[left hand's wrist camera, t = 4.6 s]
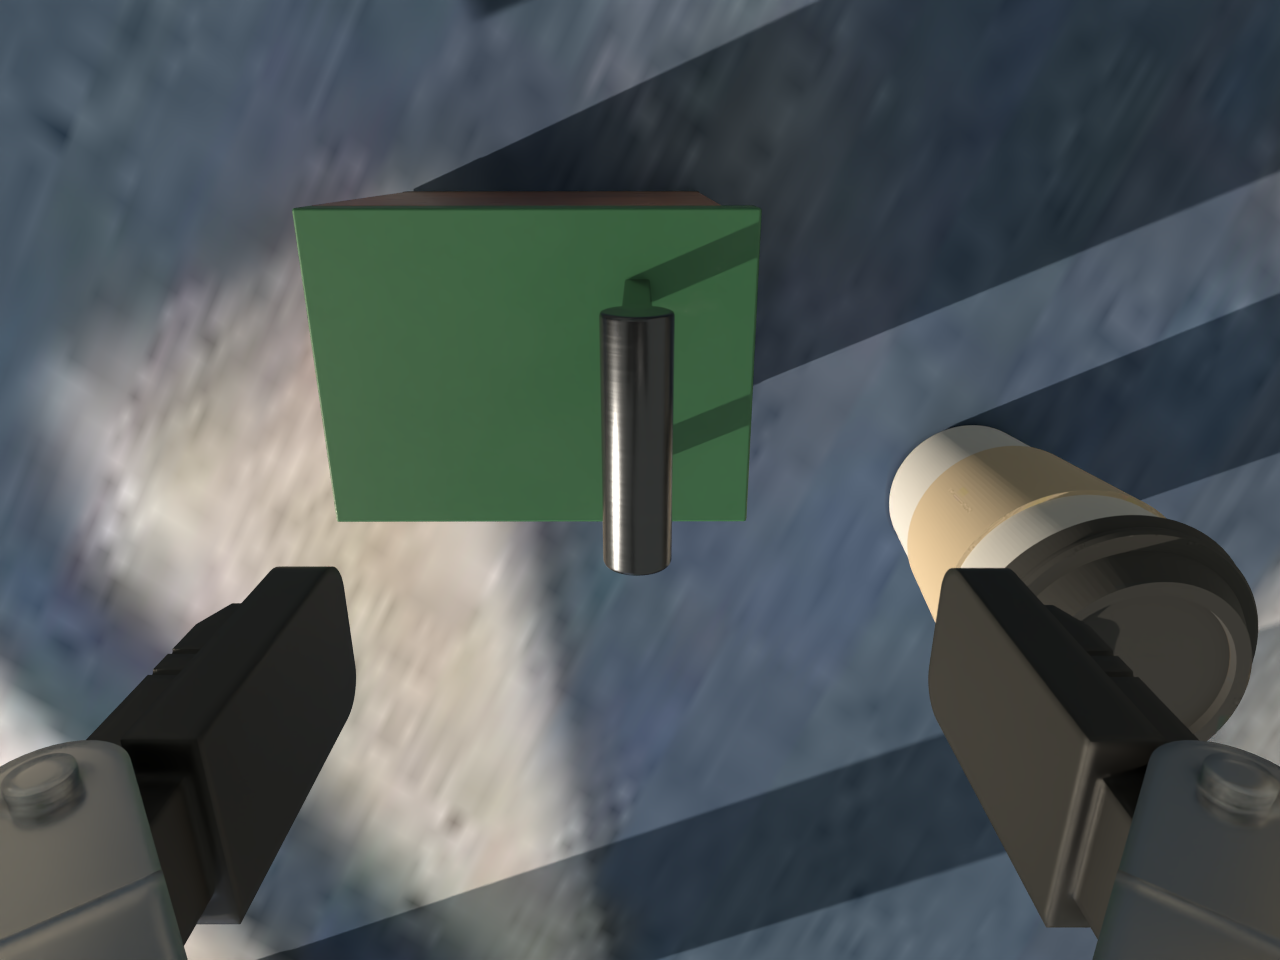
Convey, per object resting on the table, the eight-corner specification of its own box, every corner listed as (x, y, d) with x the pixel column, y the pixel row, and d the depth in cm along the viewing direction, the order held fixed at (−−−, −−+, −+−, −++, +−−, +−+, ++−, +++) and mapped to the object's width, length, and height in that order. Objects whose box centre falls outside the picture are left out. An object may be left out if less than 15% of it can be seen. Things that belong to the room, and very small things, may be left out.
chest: (697, 191, 34) (723, 204, 24) (692, 410, 37) (713, 505, 27) (407, 191, 34) (308, 205, 24) (428, 411, 37) (350, 505, 27)
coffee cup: (1075, 397, 37) (1344, 545, 23) (1047, 580, 40) (1267, 807, 26) (869, 406, 37) (1010, 557, 23) (859, 587, 40) (976, 817, 26)
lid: (756, 205, 24) (811, 227, 16) (741, 505, 27) (782, 643, 19) (308, 205, 24) (150, 227, 16) (349, 506, 27) (235, 643, 19)
